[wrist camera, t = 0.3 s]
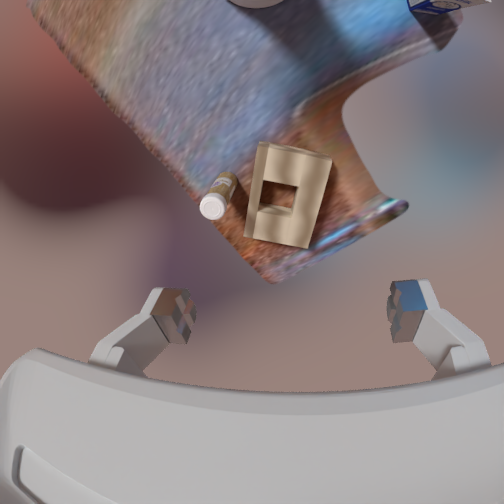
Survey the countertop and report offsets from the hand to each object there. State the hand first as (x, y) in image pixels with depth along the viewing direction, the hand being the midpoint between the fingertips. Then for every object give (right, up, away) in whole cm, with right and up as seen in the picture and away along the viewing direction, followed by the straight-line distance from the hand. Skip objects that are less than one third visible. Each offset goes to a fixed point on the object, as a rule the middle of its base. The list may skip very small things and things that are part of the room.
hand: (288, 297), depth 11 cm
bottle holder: (+6, +14, +47) cm, 50 cm away
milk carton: (+32, +52, +18) cm, 63 cm away
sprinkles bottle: (-7, +17, +48) cm, 51 cm away
